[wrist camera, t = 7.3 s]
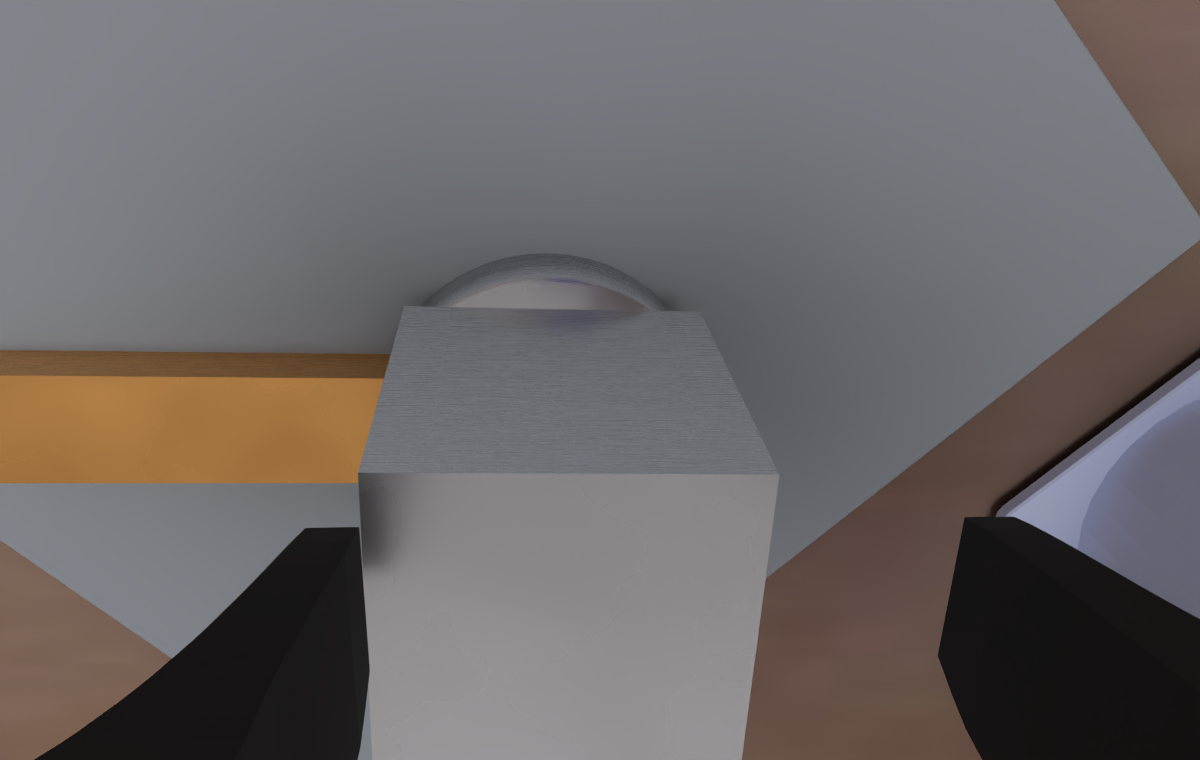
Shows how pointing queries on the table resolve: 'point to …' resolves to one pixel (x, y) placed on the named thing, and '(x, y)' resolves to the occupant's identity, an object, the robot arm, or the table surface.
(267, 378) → the scoop
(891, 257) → the mat
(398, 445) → the brushed metal cube
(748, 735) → the table surface
